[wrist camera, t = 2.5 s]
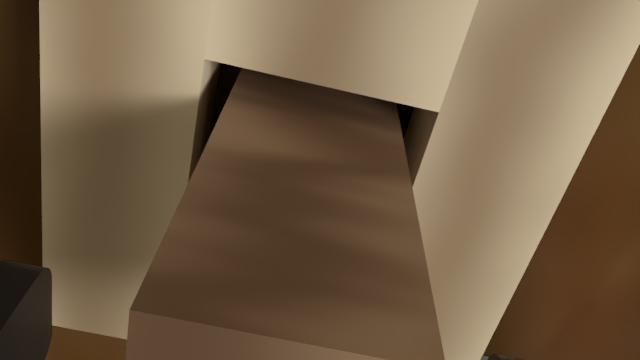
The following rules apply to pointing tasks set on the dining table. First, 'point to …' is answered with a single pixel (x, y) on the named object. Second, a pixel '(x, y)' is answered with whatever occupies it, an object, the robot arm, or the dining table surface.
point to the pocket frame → (334, 72)
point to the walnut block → (292, 238)
